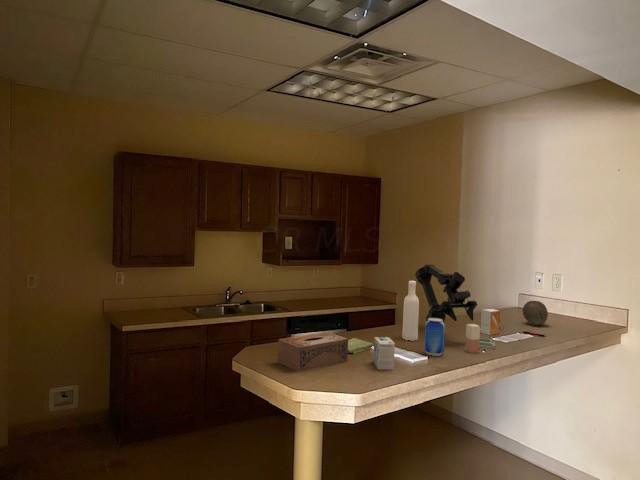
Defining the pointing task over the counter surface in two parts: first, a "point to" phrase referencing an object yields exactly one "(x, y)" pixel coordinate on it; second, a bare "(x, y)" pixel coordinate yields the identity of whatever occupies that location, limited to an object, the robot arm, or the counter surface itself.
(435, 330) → the beer can
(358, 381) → the counter surface
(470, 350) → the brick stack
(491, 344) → the baseplate
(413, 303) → the bottle
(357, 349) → the washcloth
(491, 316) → the small box
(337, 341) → the tissue box cover
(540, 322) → the cantaloupe
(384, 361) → the light bulb box
